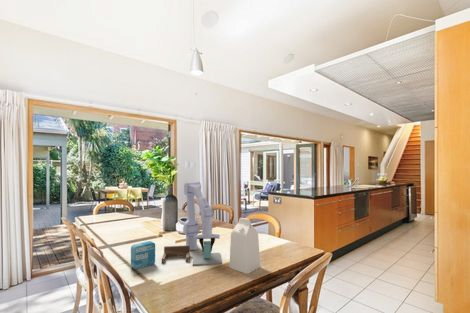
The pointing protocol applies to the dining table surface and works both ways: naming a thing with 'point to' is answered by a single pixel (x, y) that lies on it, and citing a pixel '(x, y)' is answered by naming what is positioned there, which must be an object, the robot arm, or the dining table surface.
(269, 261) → the dining table surface
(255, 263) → the milk
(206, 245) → the block
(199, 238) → the robot arm
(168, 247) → the bay
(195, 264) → the board
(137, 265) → the data package
